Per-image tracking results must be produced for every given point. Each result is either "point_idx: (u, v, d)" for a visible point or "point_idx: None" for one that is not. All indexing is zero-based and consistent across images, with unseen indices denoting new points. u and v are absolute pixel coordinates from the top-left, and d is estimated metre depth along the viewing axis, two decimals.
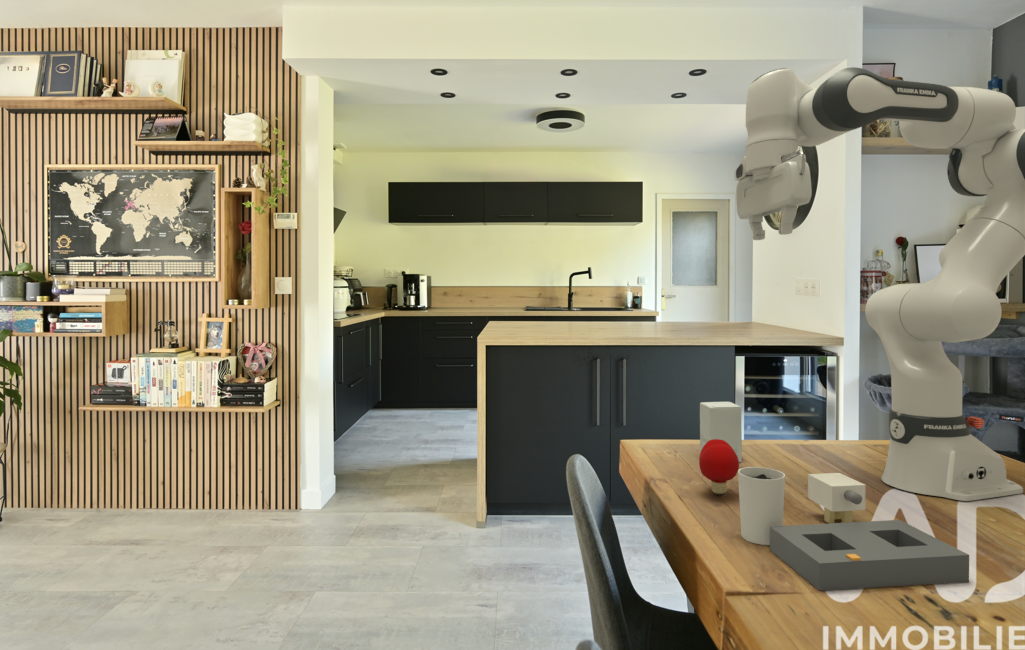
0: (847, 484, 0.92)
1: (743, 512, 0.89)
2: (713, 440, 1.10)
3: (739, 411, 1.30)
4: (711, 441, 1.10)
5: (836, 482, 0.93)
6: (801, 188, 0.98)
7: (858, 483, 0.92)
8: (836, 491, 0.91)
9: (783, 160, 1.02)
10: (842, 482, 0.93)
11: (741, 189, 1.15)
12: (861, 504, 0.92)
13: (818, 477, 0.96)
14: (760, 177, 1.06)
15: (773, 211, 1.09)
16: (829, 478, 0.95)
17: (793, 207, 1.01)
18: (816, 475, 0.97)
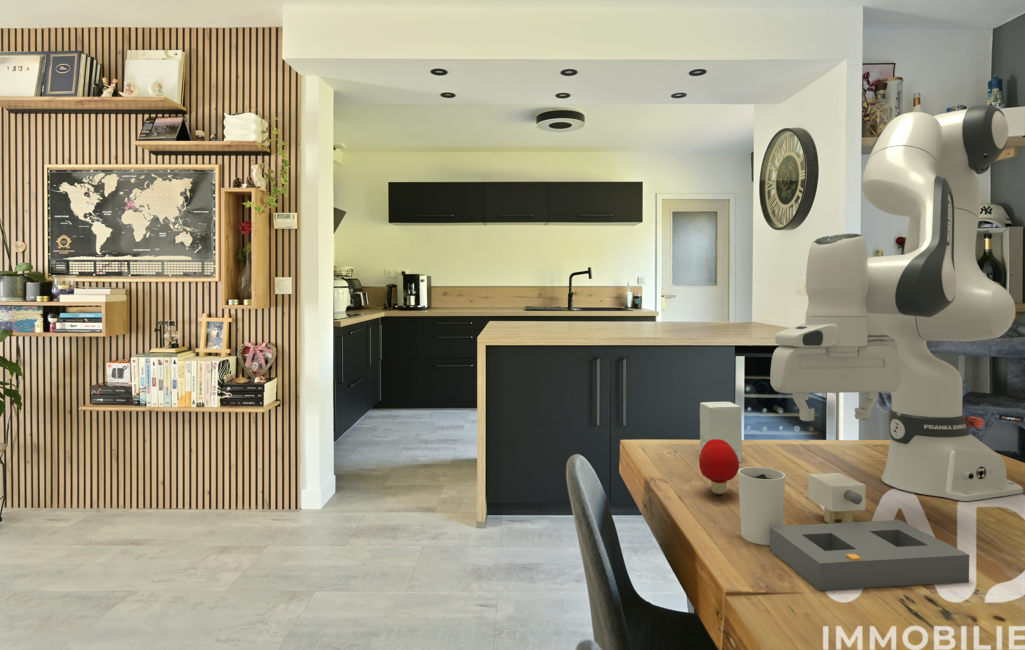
0: (847, 484, 0.92)
1: (743, 512, 0.89)
2: (713, 440, 1.10)
3: (739, 411, 1.30)
4: (711, 441, 1.10)
5: (836, 482, 0.93)
6: None
7: (858, 483, 0.92)
8: (836, 491, 0.91)
9: None
10: (842, 482, 0.93)
11: (798, 358, 0.91)
12: (861, 504, 0.92)
13: (818, 477, 0.96)
14: (855, 355, 0.91)
15: None
16: (829, 478, 0.95)
17: None
18: (816, 475, 0.97)
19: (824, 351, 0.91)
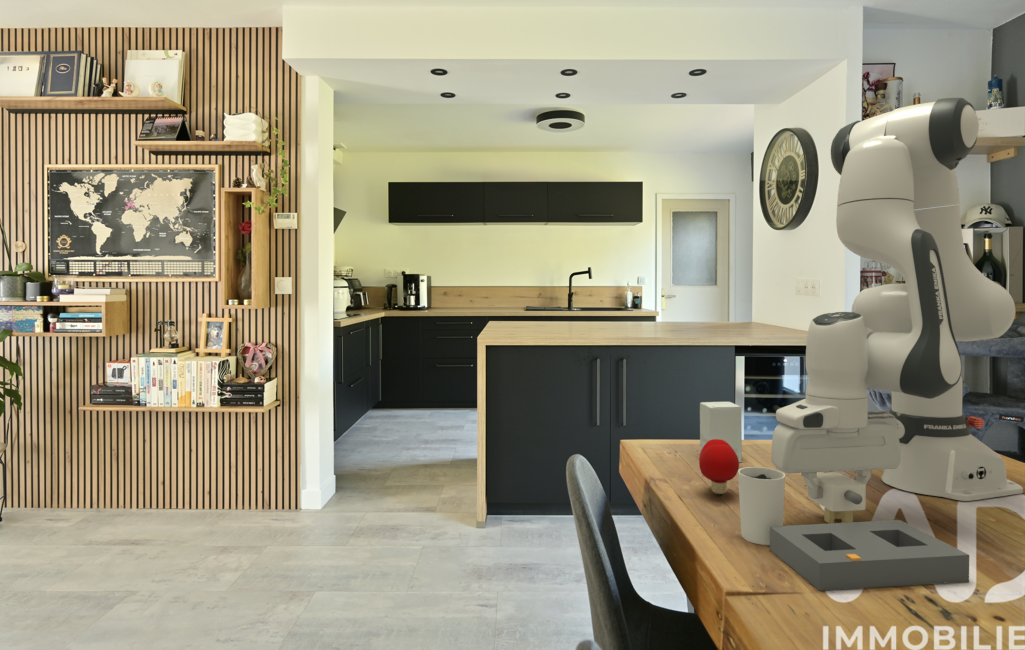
0: (847, 484, 0.92)
1: (743, 512, 0.89)
2: (713, 440, 1.10)
3: (739, 411, 1.30)
4: (711, 441, 1.10)
5: (836, 482, 0.93)
6: None
7: (858, 483, 0.92)
8: (836, 491, 0.91)
9: None
10: (842, 482, 0.93)
11: (798, 439, 0.92)
12: (861, 504, 0.92)
13: (818, 477, 0.96)
14: (855, 435, 0.92)
15: None
16: (829, 478, 0.95)
17: None
18: None
19: (824, 432, 0.91)
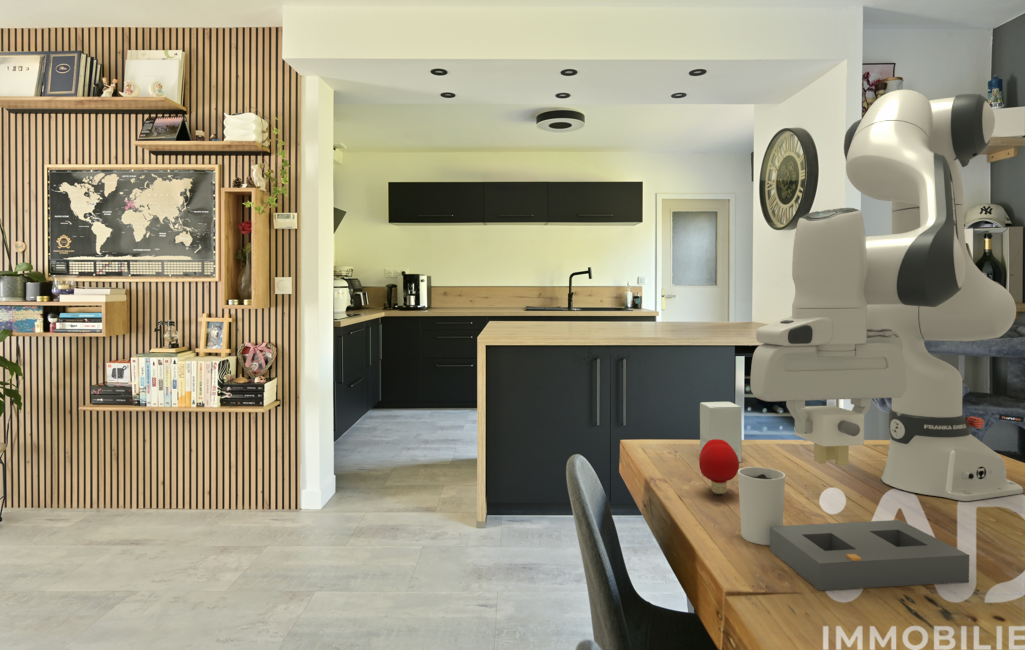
0: (842, 414, 0.76)
1: (743, 512, 0.89)
2: (713, 440, 1.10)
3: (739, 411, 1.30)
4: (711, 441, 1.10)
5: (828, 412, 0.77)
6: None
7: (855, 413, 0.76)
8: (828, 421, 0.75)
9: None
10: (836, 412, 0.77)
11: (782, 359, 0.75)
12: (859, 438, 0.75)
13: (807, 409, 0.79)
14: (851, 354, 0.75)
15: None
16: (820, 410, 0.79)
17: None
18: (805, 407, 0.81)
19: (814, 350, 0.75)
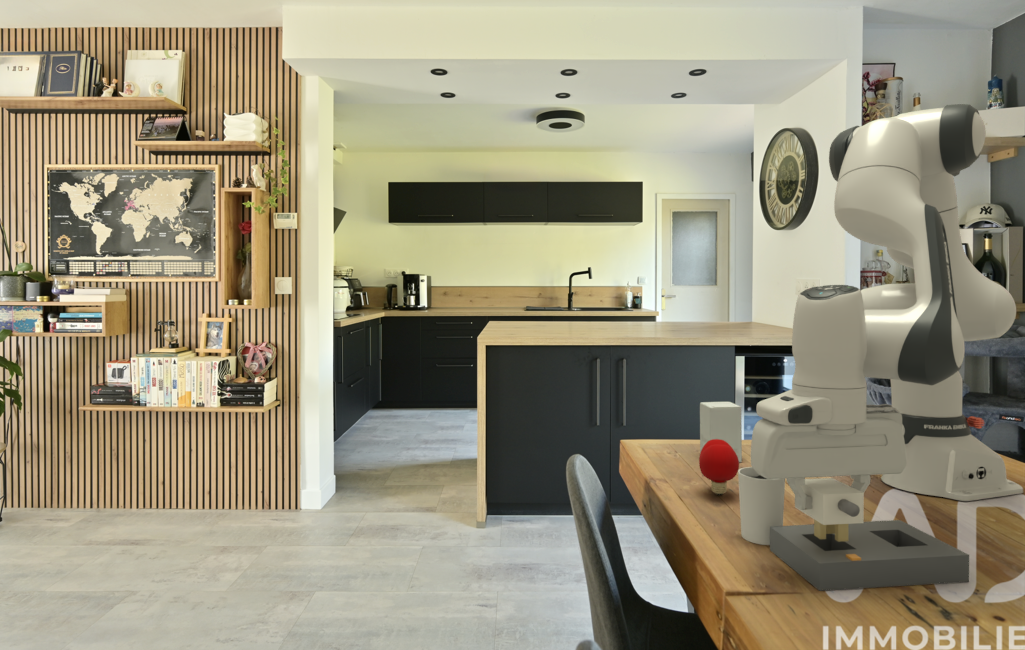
0: (842, 492, 0.76)
1: (743, 512, 0.89)
2: (713, 440, 1.10)
3: (739, 411, 1.30)
4: (711, 441, 1.10)
5: (828, 489, 0.77)
6: None
7: (855, 491, 0.76)
8: (828, 500, 0.75)
9: None
10: (836, 489, 0.77)
11: (782, 437, 0.76)
12: (858, 516, 0.76)
13: (807, 483, 0.80)
14: (851, 433, 0.76)
15: None
16: (820, 485, 0.79)
17: None
18: (805, 480, 0.81)
19: (814, 429, 0.75)
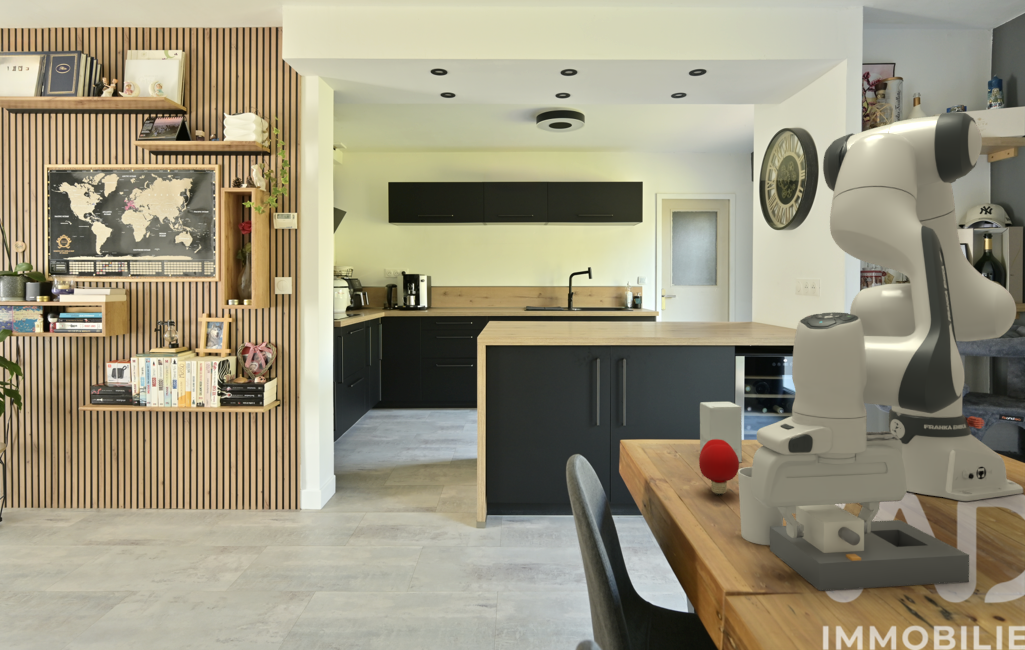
0: (842, 519, 0.76)
1: (743, 512, 0.89)
2: (713, 440, 1.10)
3: (739, 411, 1.30)
4: (711, 441, 1.10)
5: (829, 516, 0.78)
6: None
7: (855, 518, 0.77)
8: (829, 528, 0.76)
9: None
10: (836, 517, 0.77)
11: (783, 466, 0.76)
12: (859, 544, 0.76)
13: (807, 510, 0.80)
14: (851, 461, 0.76)
15: None
16: (820, 511, 0.79)
17: None
18: (805, 507, 0.81)
19: (814, 458, 0.76)
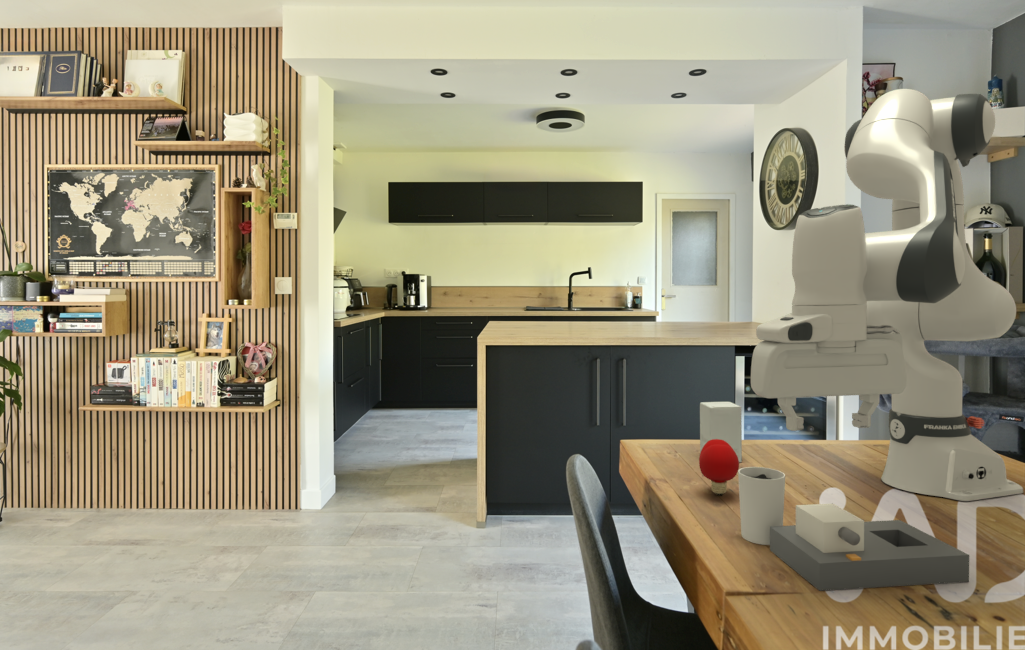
0: (842, 519, 0.76)
1: (743, 512, 0.89)
2: (713, 440, 1.10)
3: (739, 411, 1.30)
4: (711, 441, 1.10)
5: (829, 516, 0.78)
6: None
7: (855, 518, 0.77)
8: (829, 528, 0.76)
9: None
10: (836, 517, 0.77)
11: (782, 356, 0.76)
12: (859, 544, 0.76)
13: (807, 510, 0.80)
14: (851, 351, 0.76)
15: None
16: (820, 511, 0.79)
17: None
18: (805, 507, 0.81)
19: (814, 347, 0.75)
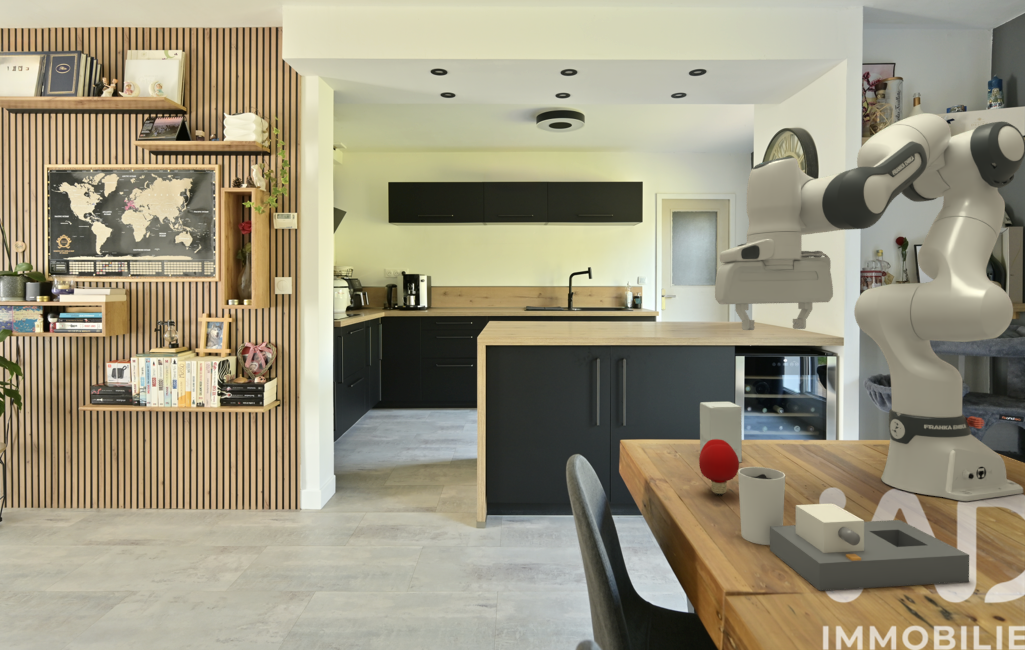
0: (842, 519, 0.76)
1: (743, 512, 0.89)
2: (713, 440, 1.10)
3: (739, 411, 1.30)
4: (711, 441, 1.10)
5: (829, 516, 0.78)
6: None
7: (855, 518, 0.77)
8: (829, 528, 0.76)
9: (801, 256, 1.03)
10: (836, 517, 0.77)
11: (737, 271, 1.00)
12: (859, 544, 0.76)
13: (807, 510, 0.80)
14: (789, 268, 1.00)
15: None
16: (820, 511, 0.79)
17: None
18: (805, 507, 0.81)
19: (761, 264, 1.00)
